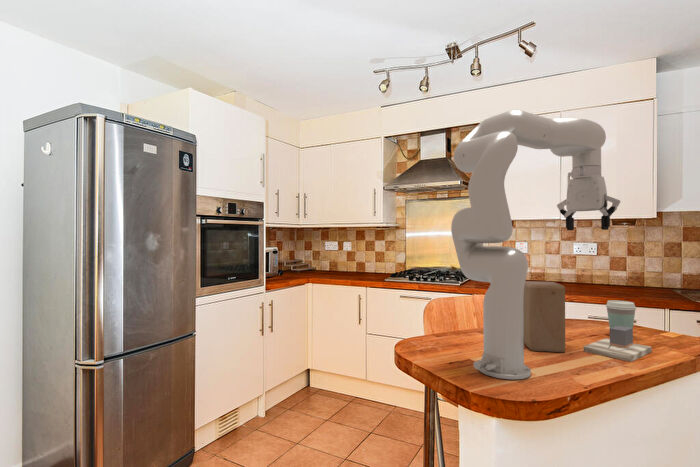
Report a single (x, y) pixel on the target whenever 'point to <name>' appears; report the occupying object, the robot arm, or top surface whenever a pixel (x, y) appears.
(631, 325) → the coffee cup
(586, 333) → the top surface
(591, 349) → the board
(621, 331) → the block
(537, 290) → the wooden block
